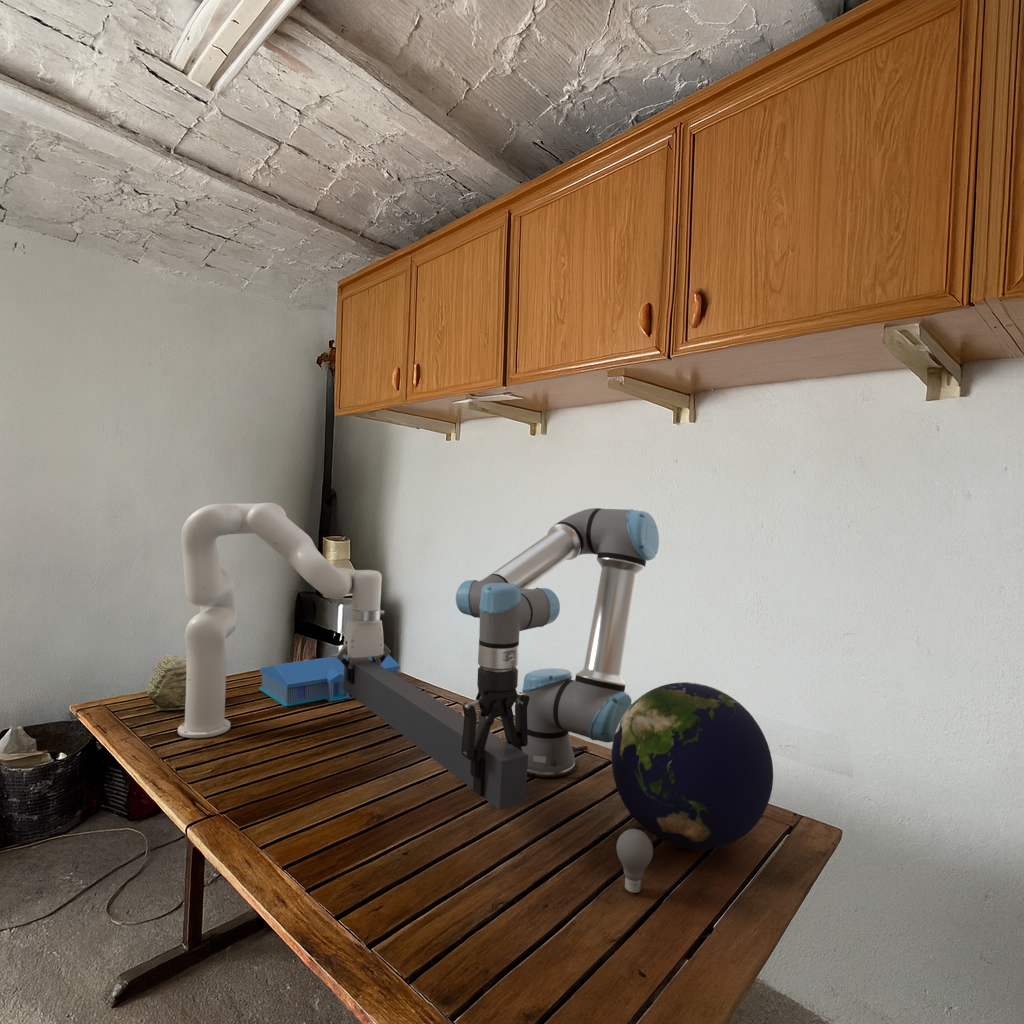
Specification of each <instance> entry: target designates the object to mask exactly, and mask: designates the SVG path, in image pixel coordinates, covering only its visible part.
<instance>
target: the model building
mask: <svg viewBox="0 0 1024 1024" xmlns="http://www.w3.org/2000/svg"><path fill="white" fill-rule="evenodd" d="M343 657H344V658H348V655H343ZM368 659H370V660H372V658H371V657H368ZM380 666H382V667H383V668H385V669H387V670H388V671H390V672H392V673H393V674H395V675H397V670H400V669H401V665H400V664H399V663H398V662H397V661H396V660H395V659H394V658H393V657H392V656H391V654H389V655H388V656H387V657H386V658H385V660H384V661H383V662H382V663H381V665H380ZM259 672H260V673H261V686H260V687H258V690H260V691H261V692H262V693H264V694H265V695H267V696H268V697H270V698H271V699H273V700H274V701H276V702H277V703H279V704H280V705H282V706H283V707H290V706H297V705H302V704H307V703H312V702H317V701H323V700H325V701H327V702H329V703H330V702H335V701H341V700H346V699H347V700H348V699H350V698H351V695H350V694H349V693H347V692H346V691H345V690H344V689H343V686H344V664H343V663H342V662H341V661H340V660H338V659H337V658H336V657H335V655H334V656H329V657H328V656H327V657H321V658H315V659H314V658H313V659H307V660H300V661H293V662H287V663H278V664H272V665H268V666H264V667H263V666H262V667H260V668H259Z"/></svg>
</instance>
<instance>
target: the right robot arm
mask: <svg viewBox="0 0 1024 1024" xmlns="http://www.w3.org/2000/svg"><path fill="white" fill-rule="evenodd" d="M659 545H660V533H659V529H658V526H657V522H656V520H655V519H654V517H653V515H652V514H650V513H649V512H647V511H643V510H638V509H633V508H630V509H625V508H624V509H623V508H620V509H619V508H599V507H592V508H586V509H584V510H579V511H577V512H575V513H573V514H571V515H568V516H567V517H564V518H563V519H562V520H559V521H558V522H557V523H555V524H553V525H552V526H551V527H550V528H549V529H548V531H547V534H546V535H545V536H544V537H542V538H541V539H539V540H537V541H536V542H535V543H533V544H532V545H531V546H529V547H528V548H526V549H525V550H523V551H522V552H521V553H519V554H518V555H516V556H515V557H513V558H511V560H509V561H507V562H506V563H504V564H503V565H501V566H500V567H499V568H497V569H496V570H494V571H493V572H492V573H489V574H488V576H486V577H484V578H483V579H480V580H477V579H472V580H471V579H469V580H465V581H463V582H462V583H461V584H460V585H459V586H458V587H457V590H456V592H455V593H456V594H455V603H456V607H457V609H458V611H459V612H460V613H461V614H463V615H466V616H470V617H473V618H477V619H479V635H478V636H479V637H478V652H477V664H478V665H479V667H478V668H477V681H476V682H477V683H476V685H477V694H476V697H475V699H474V700H472V701H471V702H467V701H464V702H463V703H462V710H463V711H462V712H463V713H464V726H463V738H462V749H461V754H462V755H463V756H465V757H466V758H467V759H469V760H471V766H470V767H471V768H470V773H471V775H472V776H473V777H474V779H473V789H472V791H473V792H474V793H475V794H477V795H478V796H480V797H482V796H484V785H485V760H484V759H482V755H483V752H484V748H485V745H486V741H487V738H488V734H489V732H491V728H492V725H493V724H494V723H495V719H497V718H499V717H500V720H501V724H502V728H503V732H504V736H505V741H506V742H508V743H509V744H511V745H513V746H514V747H516V748H518V749H519V750H521V751H523V752H524V753H526V754H527V755H528V768H527V776H531V777H536V778H543V779H544V778H545V779H552V778H560V777H565V776H568V775H569V774H571V773H572V772H574V770H575V768H576V767H575V766H576V759H575V754H574V753H576V752H581V751H586V750H588V746H587V745H583V746H576V747H572V743H571V739H570V733H572V734H575V735H579V736H582V737H585V738H588V739H590V740H592V741H598V742H603V743H613V739H614V736H615V732H616V729H617V727H618V724H619V722H620V720H621V718H622V717H623V715H624V714H625V712H626V711H627V710H628V708H629V707H630V706H631V705H632V704H633V702H632V701H633V700H632V697H631V696H630V694H628V693H627V692H626V691H625V690H626V685H627V684H626V682H625V681H624V679H623V678H622V675H621V674H622V669H623V663H624V657H625V651H626V644H627V640H628V639H627V638H628V633H629V627H630V621H631V615H632V610H633V604H634V603H633V602H634V598H635V591H636V585H637V579H638V575H639V574H641V572H643V571H645V569H646V564H647V562H649V561H651V560H654V559H655V558H656V555H657V554H658V551H659ZM581 555H596V562H597V563H598V564H599V566H600V567H601V568H600V569H601V570H600V576H599V582H598V586H597V591H596V592H597V593H596V598H595V604H594V608H593V614H592V620H591V626H590V631H589V638H588V643H587V648H586V654H585V659H584V660H585V661H584V665H583V668H582V669H581V670H579V671H578V672H576V673H575V678H574V679H572V678H573V675H572V672H571V671H570V670H568V669H566V668H540V669H535V670H532V671H529V672H527V673H526V674H525V676H524V678H523V685H522V690H521V691H522V692H521V691H520V692H518V691H517V688H518V681H519V670H518V668H517V666H518V665H519V651H520V632H523V631H527V630H531V629H532V630H533V629H535V628H542V627H545V626H546V625H549V624H552V623H554V622H555V621H556V620H557V619H558V617H559V615H560V612H561V603H560V600H559V597H558V595H557V594H556V593H555V592H554V591H553V590H551V589H550V588H547V587H535V588H531V587H532V586H534V584H536V583H538V582H539V581H540V580H542V579H543V578H544V577H545V576H546V575H548V574H549V573H551V572H552V571H553V570H554V569H556V568H557V567H558V566H560V565H561V564H563V563H564V562H565V561H572V560H574V559H576V558H577V557H578V556H581ZM513 706H514V710H513ZM479 709H480V710H479ZM477 714H478V717H477ZM477 718H478V719H477ZM477 720H478V721H477ZM476 724H478V726H477V729H476Z"/></svg>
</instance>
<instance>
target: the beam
mask: <svg viewBox="0 0 1024 1024" xmlns="http://www.w3.org/2000/svg"><path fill="white" fill-rule="evenodd" d="M345 659H346V660H347V658H345ZM346 669H347V667H346V666H345V665H344V686H343V689H344V690H345V691H346V692H347V693H349V696H350V697H353V698H354V699H355V700H356V701H357V702H359V703H360V704H361V705H363V706H364V707H366V708H367V709H368V710H369V711H371V712H372V713H373V714H374V715H375V716H377V717H378V718H379V719H381V720H382V721H383V722H385V723H386V724H388V725H389V726H390V727H391V728H393V729H394V730H395V731H396V732H398V733H399V734H400V735H401V736H403V737H404V738H405V739H406V740H408V741H409V742H411V743H412V744H413V745H415V746H416V747H417V748H418V749H420V750H421V751H422V752H423V753H425V754H426V755H428V756H429V757H430V758H431V759H432V760H434V761H435V762H436V763H438V764H439V765H440V766H441V767H443V768H444V769H446V770H447V771H448V772H449V773H451V774H452V775H453V776H454V777H456V778H457V779H458V780H460V781H461V782H462V783H464V784H465V785H466V786H467V787H469V788H470V789H471V790H473V779H474V777H473V776H472V775H471V773H470V768H471V767H470V766H471V760H469V759H467V758H466V757H465V756H463V755H462V754H461V749H462V738H463V726H464V716H463V715H461V714H460V713H458V711H456V710H455V709H453V708H451V707H449V706H448V705H446V704H445V703H443V702H442V701H440V700H438V699H436V698H435V697H433V696H431V695H430V694H428V693H427V692H425V691H423V690H421V689H420V688H418V687H416V685H413V684H411V683H410V682H408V681H407V680H405V679H404V678H401V677H400V676H398V675H397V674H396V675H395V674H393V673H392V672H390V671H388V670H387V669H385V668H383V667H382V666H380V665H378V664H377V663H375V662H373V661H372V660H370V659H368V658H358V659H356V661H355V663H354V665H353V669H354V683H353V684H350V683H349V682H348V681H347V680H346ZM477 726H478V723H476V729H477ZM482 759H484V760H485V785H484V796H481V797H482V798H483V799H484V800H485V801H487V802H488V803H490V805H492V806H493V807H495V808H496V809H497V810H498V811H501V810H502V811H503V810H505V809H510V808H513V807H516V806H519V805H523V804H526V803H527V788H528V787H527V786H528V785H527V784H528V775H527V768H528V755H527V754H526V753H524V752H523V751H521V750H519V749H518V748H516V747H514V746H513V745H511V744H509V743H508V742H507V741H506V740H504V739H503V738H501V737H500V736H498V735H496V734H494V733H492V732H491V731H489V734H488V738H487V741H486V745H485V748H484V752H483V755H482Z"/></svg>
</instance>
